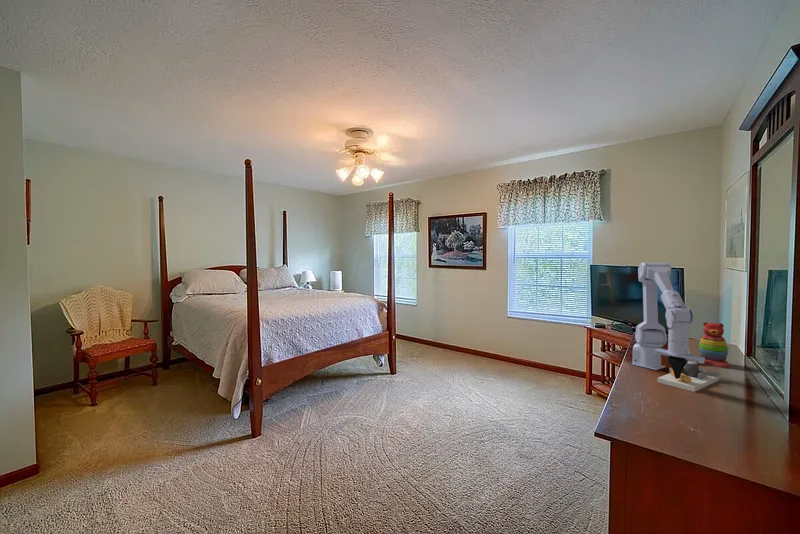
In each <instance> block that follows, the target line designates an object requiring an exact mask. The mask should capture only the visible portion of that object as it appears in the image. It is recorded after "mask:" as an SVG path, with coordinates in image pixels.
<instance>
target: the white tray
mask: <svg viewBox="0 0 800 534" xmlns="http://www.w3.org/2000/svg"><path fill="white" fill-rule="evenodd" d="M681 373H682V374H684V375H685V366H684V368H683V370H682V372H681ZM688 377H690V376H688ZM690 378H691V382H685V381H683V380H682V379H680V378H679V379H676V378H675V376H674V375H673V374H671V373H669V372H668V373H667V374H664V375H662V376H659V377H657V378H656V380H657V381H656V383H658V384H659V383H660V384H663V385H665V386H666V385H667V386H671V387H674V388H676V389H677V388H679V389H683V390H685V391H689V392H693V393H695V392H697V391H699V390H702V389H704V388H706V387H709V386H710V385H712V384H714V383H716V382H719V381H720V372H716V371H711V370H707V369H703V368H699V373H698V377H690Z"/></svg>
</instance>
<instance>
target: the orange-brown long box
mask: <svg viewBox="0 0 800 534" xmlns="http://www.w3.org/2000/svg"><path fill="white" fill-rule="evenodd" d="M668 369H669V370H668V374H669V373H671V374H673V375H674V372H673V369H672V367H669V368H668ZM680 379H682V380H683V381H685V382H691V378H690V377H688V376H686V375H684V374H682V373H681V375H680Z"/></svg>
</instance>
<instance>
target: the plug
mask: <svg viewBox="0 0 800 534" xmlns="http://www.w3.org/2000/svg"><path fill="white" fill-rule="evenodd" d="M699 365H700V364H698V363H696V362H694V361H688V362H687V363H686V365H685V375H686V376H690V377H698V373H699V369H700V367H699Z"/></svg>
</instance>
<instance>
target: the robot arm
mask: <svg viewBox="0 0 800 534" xmlns="http://www.w3.org/2000/svg"><path fill="white" fill-rule="evenodd" d="M671 274H672V266H671V264H670V262H666V261H664V262H645V261H644V262H643V261H641V263H640V264H639V266H638V269H637V275H638V276H637V277H638V278H637V279H638V282H640V283H642V305H643V321H642V322H640V323H639V324H637V325H636V326H635V332H634V337H635V342H636V343H635V344H634V345H633V347H632V361H631V362H632V363H631V365H633V366H637V367H641V368H646V369H650V370H655V371H658V370H661V369H664V368H666V366H665V365H662V356H665V357H668V358H667V362H668V363H669V364H670V368H672V369H673V372H674V376H675V378H676V379H679V378H680V375H681V372H682V370H683V368H684V366H685V365H686V363H687V362H698V363H701V364H700V365H702V364H703V363H704V360H705V357H701V355H700V356H699V355H696V354H693V353H690V354H689V353H688V349H689V343H690V339H689V337H690V324H691V323H693V320H694V314H693V310H692V309H691V308H690V307H689V306H688V305H685V303H684V301H683V299H682V297H681V295H680V293H679V292H678V291H676V290H674V287H673V285H672V282H671ZM658 288H659V290H660V291H661V295H660V299H661V302H662V304H663V306H664V308H665V310H666V311H665V314H664V315H665V320H666V326H667V328H668V335H667V333H666V328H665V327H664V325H662V324H661V323H660V322H659V316H658V315H659V311H658V309H659V308H658V307H659V305H658ZM667 342H668V344H667ZM666 344H667V349H664V348H663V347H664V346H665V345H666Z"/></svg>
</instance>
